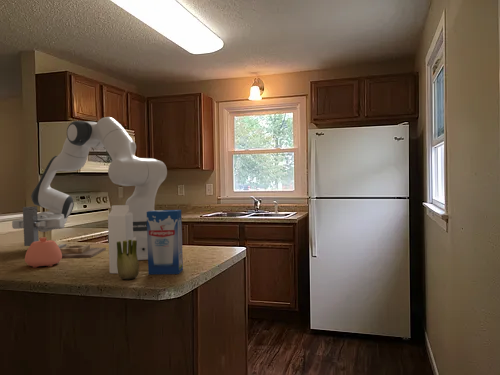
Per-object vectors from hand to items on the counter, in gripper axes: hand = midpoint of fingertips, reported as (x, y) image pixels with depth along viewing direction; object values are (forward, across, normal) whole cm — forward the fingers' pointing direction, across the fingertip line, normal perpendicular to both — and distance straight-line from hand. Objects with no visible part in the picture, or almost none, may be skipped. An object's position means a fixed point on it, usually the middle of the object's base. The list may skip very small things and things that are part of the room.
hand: (29, 225), depth 177 cm
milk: (+37, +48, +14) cm, 62 cm away
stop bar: (-1, 0, +8) cm, 9 cm away
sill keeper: (-1, +18, +13) cm, 22 cm away
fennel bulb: (+48, +52, +14) cm, 72 cm away
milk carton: (+40, +62, +14) cm, 75 cm away
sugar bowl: (+21, +15, +13) cm, 29 cm away
